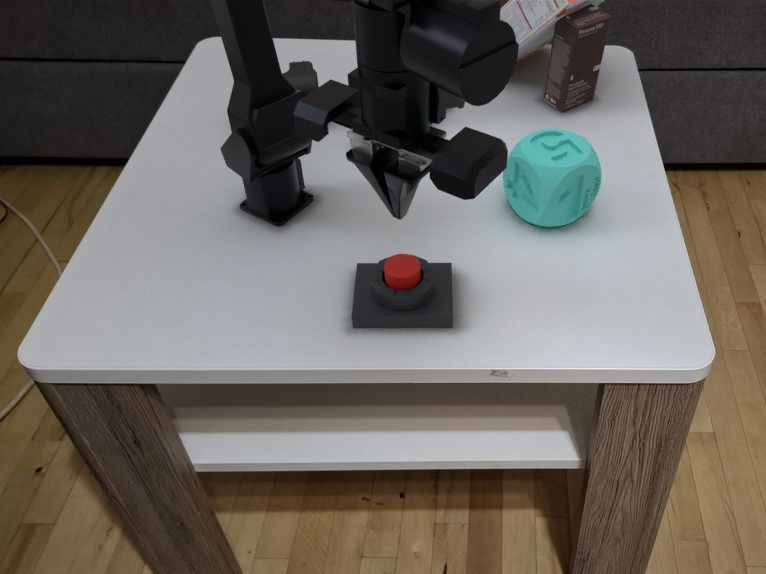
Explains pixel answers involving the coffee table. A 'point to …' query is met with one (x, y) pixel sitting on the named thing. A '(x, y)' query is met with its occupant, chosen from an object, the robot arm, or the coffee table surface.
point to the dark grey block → (302, 76)
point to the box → (576, 57)
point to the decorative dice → (552, 177)
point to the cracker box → (538, 20)
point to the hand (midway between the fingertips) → (400, 216)
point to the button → (402, 271)
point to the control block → (403, 298)
